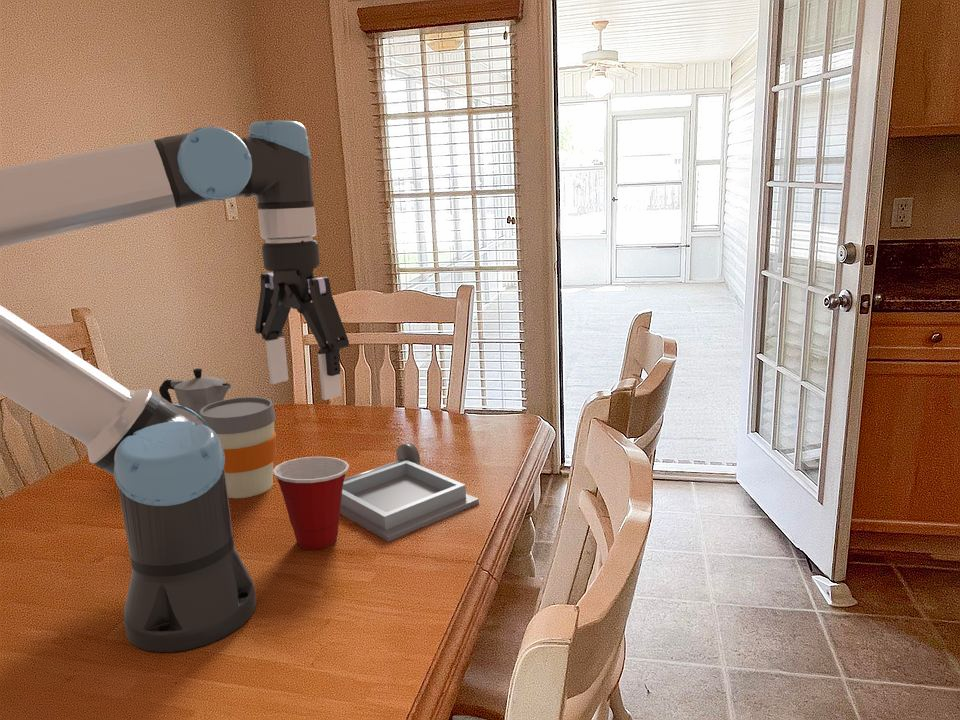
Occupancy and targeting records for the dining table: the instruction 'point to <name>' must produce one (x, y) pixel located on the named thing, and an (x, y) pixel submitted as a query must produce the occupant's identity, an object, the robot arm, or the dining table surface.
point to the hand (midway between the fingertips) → (304, 389)
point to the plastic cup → (313, 498)
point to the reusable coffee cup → (245, 442)
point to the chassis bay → (401, 496)
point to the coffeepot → (195, 391)
